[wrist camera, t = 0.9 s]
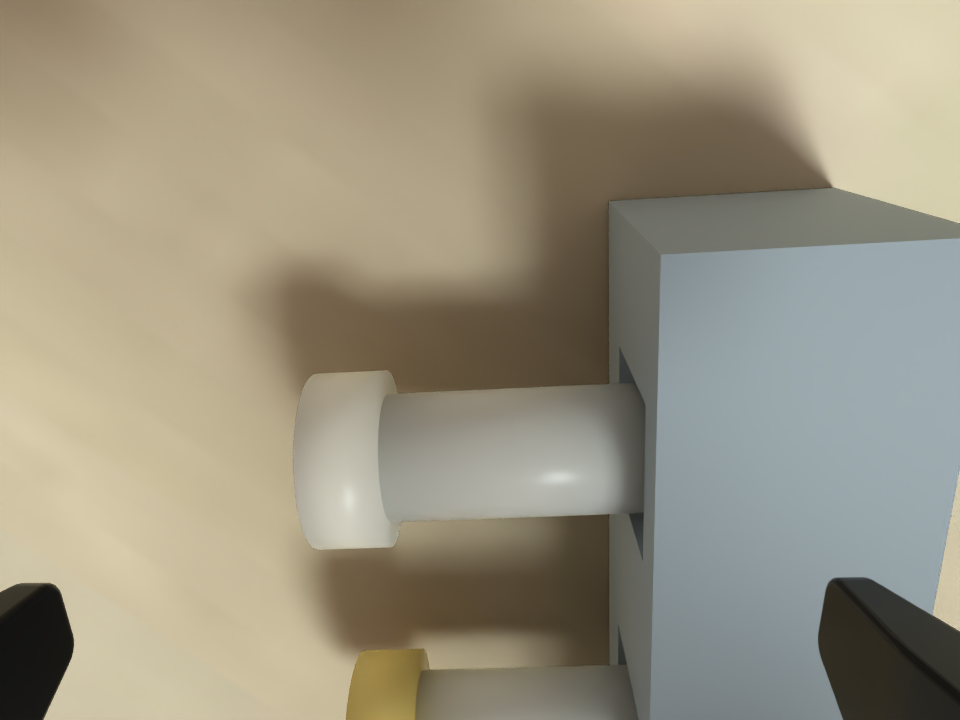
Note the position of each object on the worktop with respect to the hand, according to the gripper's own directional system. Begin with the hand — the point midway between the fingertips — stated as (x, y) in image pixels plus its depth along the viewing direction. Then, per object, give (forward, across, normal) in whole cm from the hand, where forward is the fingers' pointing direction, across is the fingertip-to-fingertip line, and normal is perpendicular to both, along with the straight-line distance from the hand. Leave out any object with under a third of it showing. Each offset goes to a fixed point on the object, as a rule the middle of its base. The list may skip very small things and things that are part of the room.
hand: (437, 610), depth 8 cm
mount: (+13, -7, +7) cm, 17 cm away
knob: (+11, -1, +3) cm, 12 cm away
